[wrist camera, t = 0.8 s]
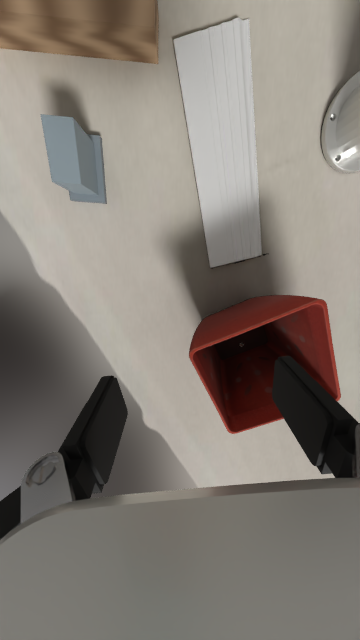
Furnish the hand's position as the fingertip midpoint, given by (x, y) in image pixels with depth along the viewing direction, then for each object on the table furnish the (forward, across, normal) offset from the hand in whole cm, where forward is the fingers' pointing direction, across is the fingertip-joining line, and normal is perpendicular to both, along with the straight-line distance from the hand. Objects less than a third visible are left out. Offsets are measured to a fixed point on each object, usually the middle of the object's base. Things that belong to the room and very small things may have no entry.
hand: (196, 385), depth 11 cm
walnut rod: (+30, +11, -36) cm, 49 cm away
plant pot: (+30, -11, +13) cm, 34 cm away
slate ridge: (+30, +14, -21) cm, 39 cm away
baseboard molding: (+31, -10, -19) cm, 37 cm away
